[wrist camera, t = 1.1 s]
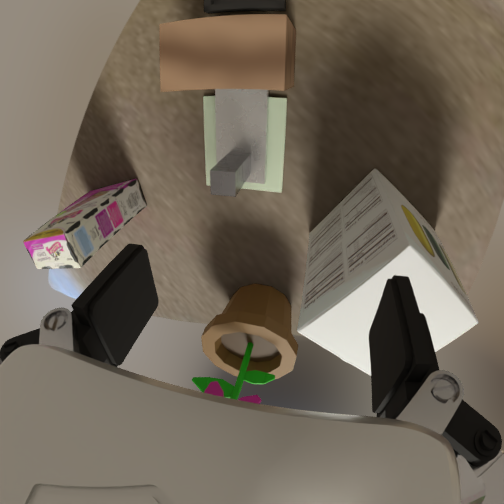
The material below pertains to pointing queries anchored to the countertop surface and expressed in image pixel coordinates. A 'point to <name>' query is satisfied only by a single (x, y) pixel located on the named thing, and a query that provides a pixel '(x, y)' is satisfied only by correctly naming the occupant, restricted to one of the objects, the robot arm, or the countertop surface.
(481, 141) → the countertop surface
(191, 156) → the countertop surface
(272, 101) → the board
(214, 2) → the tray
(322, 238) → the supplement box
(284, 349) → the flowerpot
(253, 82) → the tunnel
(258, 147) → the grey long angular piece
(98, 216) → the candy bar box
